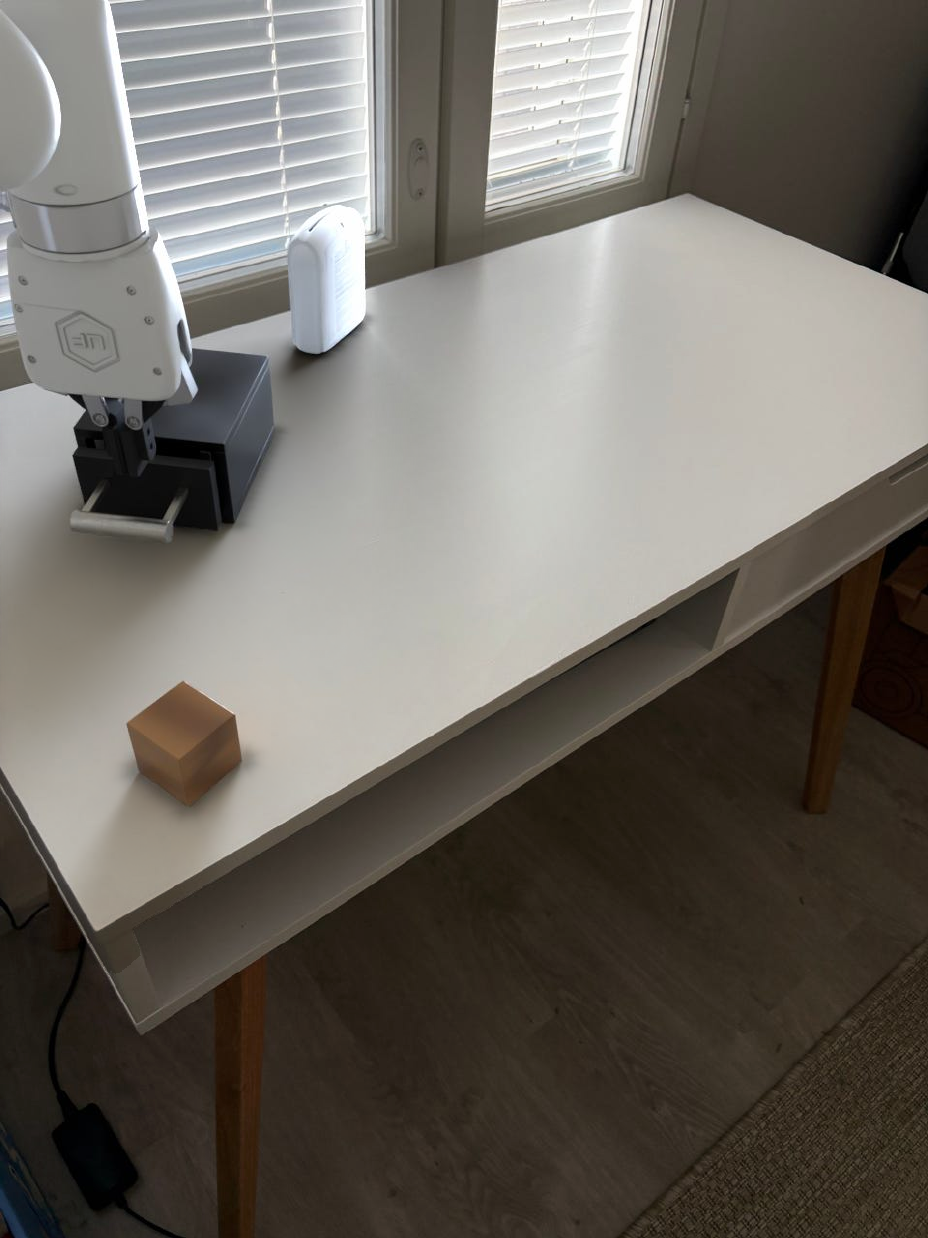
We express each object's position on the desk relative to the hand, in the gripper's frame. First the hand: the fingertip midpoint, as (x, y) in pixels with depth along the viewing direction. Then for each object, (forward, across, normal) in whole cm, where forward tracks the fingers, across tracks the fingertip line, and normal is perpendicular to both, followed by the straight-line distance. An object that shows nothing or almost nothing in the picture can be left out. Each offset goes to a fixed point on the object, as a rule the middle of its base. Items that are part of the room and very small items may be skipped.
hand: (135, 464), depth 73 cm
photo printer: (+8, +7, +36) cm, 38 cm away
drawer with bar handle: (+7, 0, +5) cm, 8 cm away
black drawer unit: (+8, 0, +10) cm, 13 cm away
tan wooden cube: (+7, +9, -21) cm, 24 cm away
